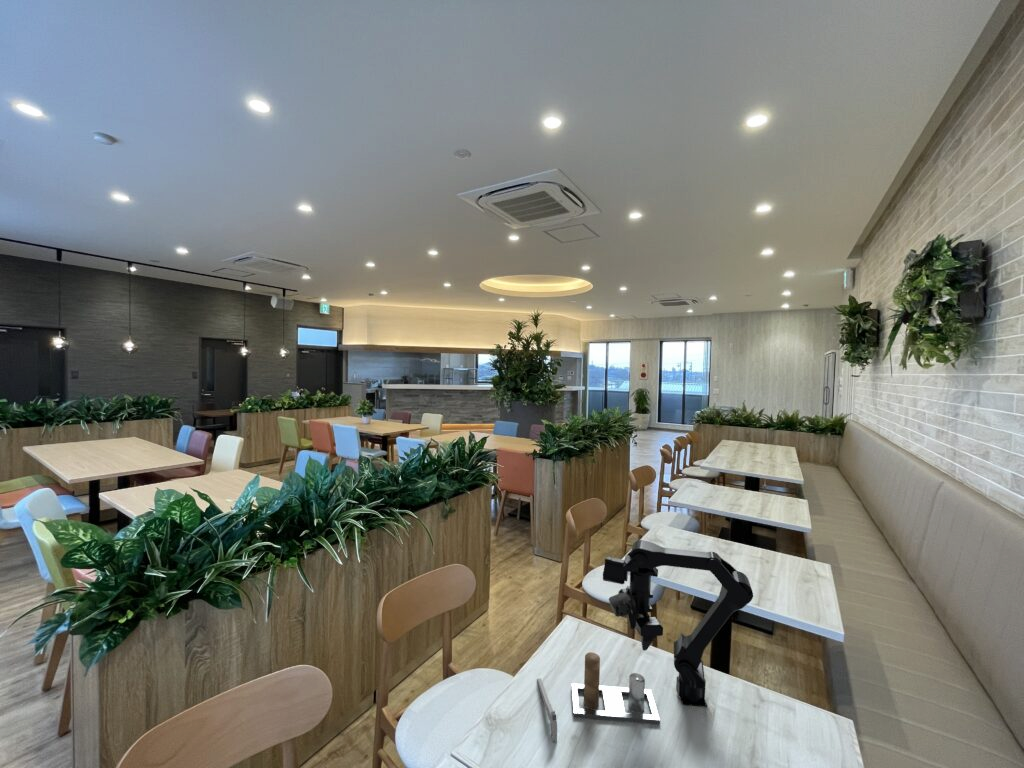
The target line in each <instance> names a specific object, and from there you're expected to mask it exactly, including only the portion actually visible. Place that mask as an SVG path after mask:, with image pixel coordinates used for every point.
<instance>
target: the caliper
mask: <svg viewBox="0 0 1024 768" xmlns="http://www.w3.org/2000/svg"><path fill="white" fill-rule="evenodd" d="M536 681H537V684H538V689H539V691H540V694H541V697H542V700H543V704H544V706H545V710H546V716H547V718H548V720H549V725H550V726H549V727H550V735H551V737H552V742H558V720H557V714H556V711H555V710H554V709H553V706H552V704H551V702H550V700H549V697H548V694H547V692H546V688H545V686H544V682H543V681H542V678H536Z"/></svg>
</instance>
